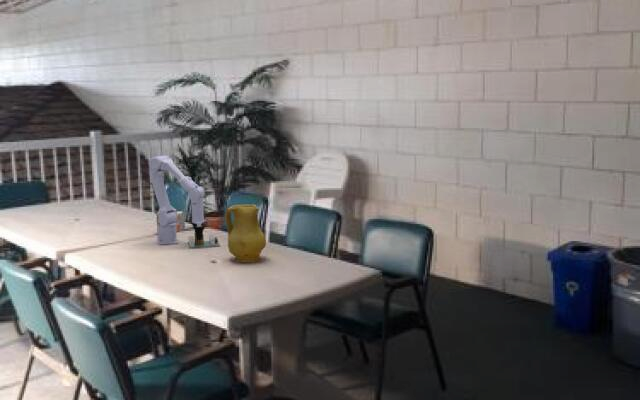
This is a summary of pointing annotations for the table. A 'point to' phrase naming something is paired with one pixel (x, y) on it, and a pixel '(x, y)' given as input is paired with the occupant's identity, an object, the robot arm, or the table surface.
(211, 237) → the sliding jaw
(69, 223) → the table surface
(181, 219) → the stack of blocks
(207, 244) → the vise base
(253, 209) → the pitcher
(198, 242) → the walnut block
